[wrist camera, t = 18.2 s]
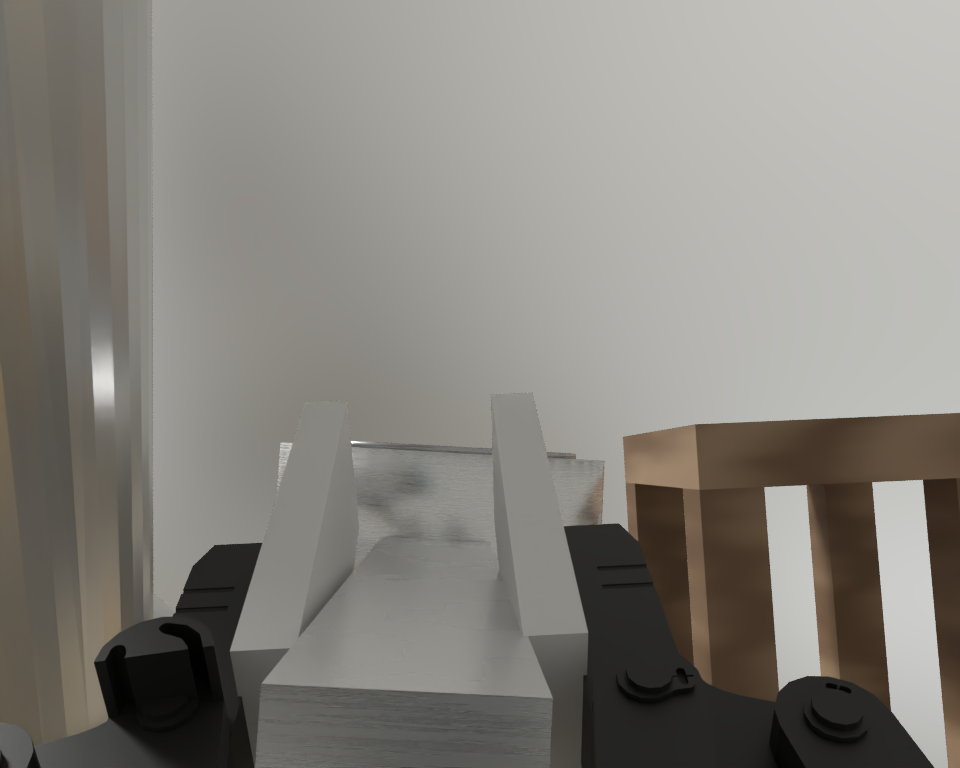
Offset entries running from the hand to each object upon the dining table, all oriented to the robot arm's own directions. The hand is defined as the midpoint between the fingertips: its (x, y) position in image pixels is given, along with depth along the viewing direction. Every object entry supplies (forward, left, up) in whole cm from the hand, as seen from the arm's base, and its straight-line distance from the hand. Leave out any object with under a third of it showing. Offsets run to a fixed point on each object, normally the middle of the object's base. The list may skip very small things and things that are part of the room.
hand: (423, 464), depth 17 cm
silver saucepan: (0, +2, -4) cm, 4 cm away
